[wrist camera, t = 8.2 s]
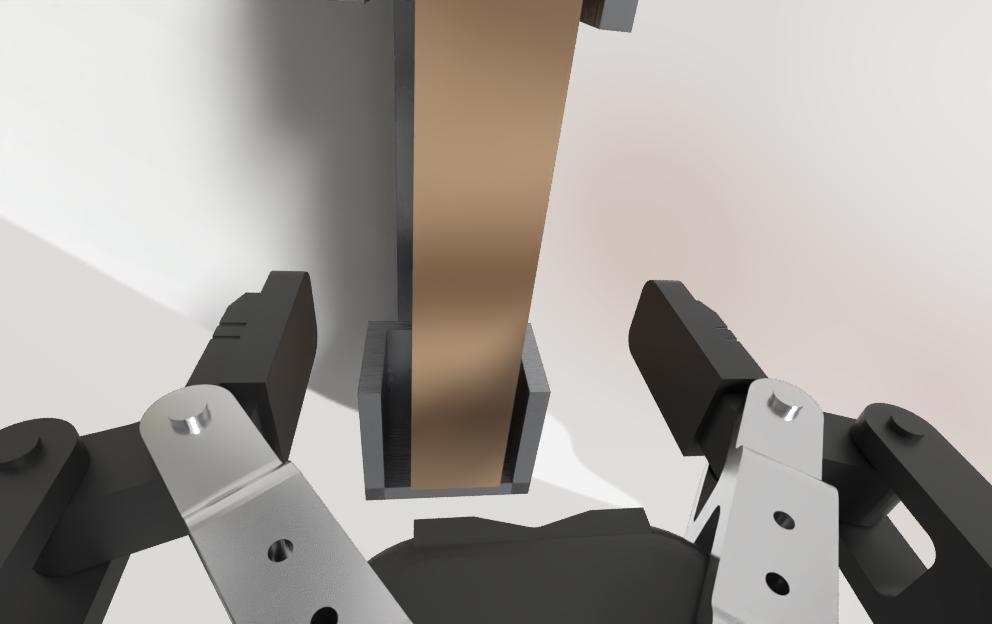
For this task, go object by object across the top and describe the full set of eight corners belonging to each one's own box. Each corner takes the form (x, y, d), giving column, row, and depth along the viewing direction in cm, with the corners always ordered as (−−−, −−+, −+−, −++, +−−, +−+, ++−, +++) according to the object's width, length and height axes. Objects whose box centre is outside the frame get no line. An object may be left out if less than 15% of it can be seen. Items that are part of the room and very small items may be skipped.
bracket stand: (354, -281, 15) (286, -519, 7) (587, -237, 16) (728, -405, 8) (380, 365, 29) (366, 503, 21) (502, 364, 30) (527, 496, 23)
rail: (419, -194, 12) (417, -270, 8) (558, -170, 13) (622, -230, 9) (413, 398, 23) (410, 489, 19) (486, 397, 24) (499, 486, 20)
